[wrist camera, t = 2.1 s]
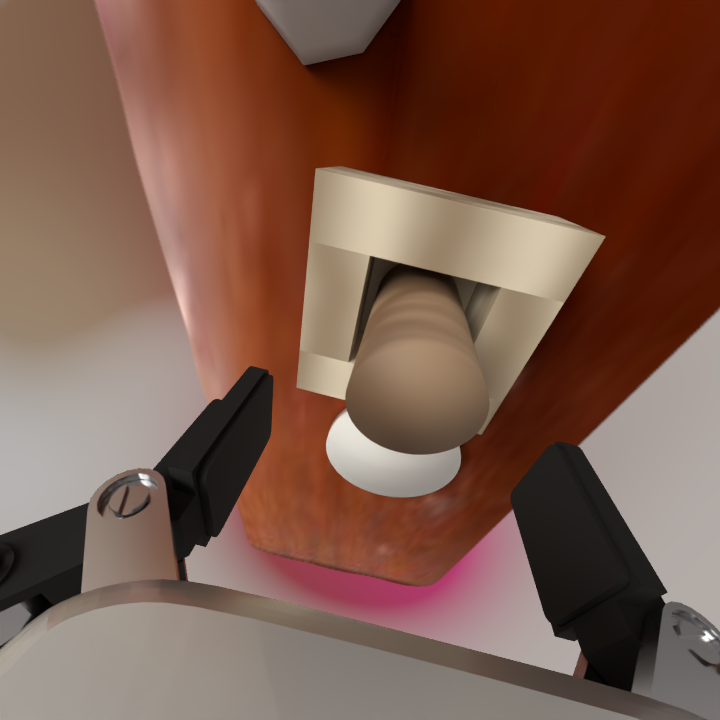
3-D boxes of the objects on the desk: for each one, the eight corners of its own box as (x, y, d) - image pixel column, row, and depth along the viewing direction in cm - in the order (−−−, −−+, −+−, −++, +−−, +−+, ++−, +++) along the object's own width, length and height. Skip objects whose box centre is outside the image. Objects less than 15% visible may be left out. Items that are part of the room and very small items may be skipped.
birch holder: (558, 217, 16) (605, 236, 12) (470, 385, 23) (481, 434, 19) (341, 166, 17) (315, 168, 12) (318, 347, 23) (296, 387, 19)
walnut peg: (434, 242, 17) (449, 320, 9) (471, 313, 19) (512, 432, 11) (361, 286, 19) (318, 382, 11) (401, 346, 21) (390, 467, 13)
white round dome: (419, 376, 23) (419, 386, 22) (481, 470, 28) (483, 481, 27) (304, 424, 28) (300, 433, 27) (373, 496, 33) (371, 506, 32)
